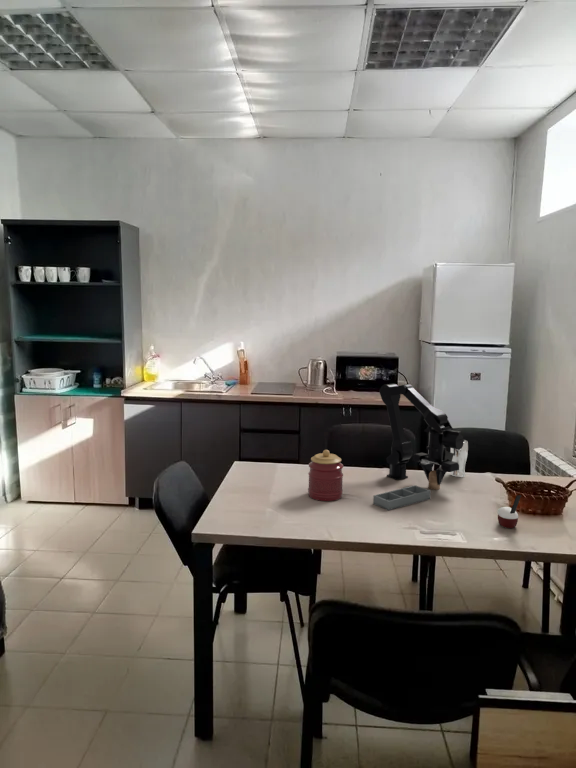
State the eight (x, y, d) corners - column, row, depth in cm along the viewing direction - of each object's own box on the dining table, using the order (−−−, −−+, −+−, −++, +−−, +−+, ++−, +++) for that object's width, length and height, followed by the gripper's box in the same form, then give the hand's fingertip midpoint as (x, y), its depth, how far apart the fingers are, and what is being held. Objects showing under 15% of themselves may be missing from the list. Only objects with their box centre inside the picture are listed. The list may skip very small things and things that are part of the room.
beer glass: (445, 473, 234) (447, 439, 232) (458, 472, 236) (460, 438, 234) (457, 478, 227) (459, 443, 225) (469, 476, 230) (471, 442, 228)
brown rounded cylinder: (425, 487, 215) (426, 469, 214) (433, 485, 218) (434, 468, 217) (434, 490, 212) (435, 472, 211) (442, 488, 214) (443, 470, 213)
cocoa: (495, 521, 182) (495, 486, 181) (515, 522, 181) (515, 487, 180) (500, 531, 173) (501, 494, 172) (521, 532, 172) (522, 495, 171)
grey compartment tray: (373, 503, 196) (373, 495, 196) (414, 493, 208) (415, 485, 208) (388, 510, 190) (388, 501, 189) (430, 499, 202) (430, 490, 202)
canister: (302, 497, 201) (302, 451, 199) (316, 488, 213) (317, 444, 210) (334, 504, 195) (335, 456, 193) (347, 493, 207) (349, 448, 204)
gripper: (469, 446, 209) (467, 486, 211) (431, 437, 224) (429, 473, 226) (450, 450, 203) (448, 491, 205) (412, 440, 218) (411, 478, 220)
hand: (434, 483), depth 214 cm, fingers closed on brown rounded cylinder, 4 cm apart
